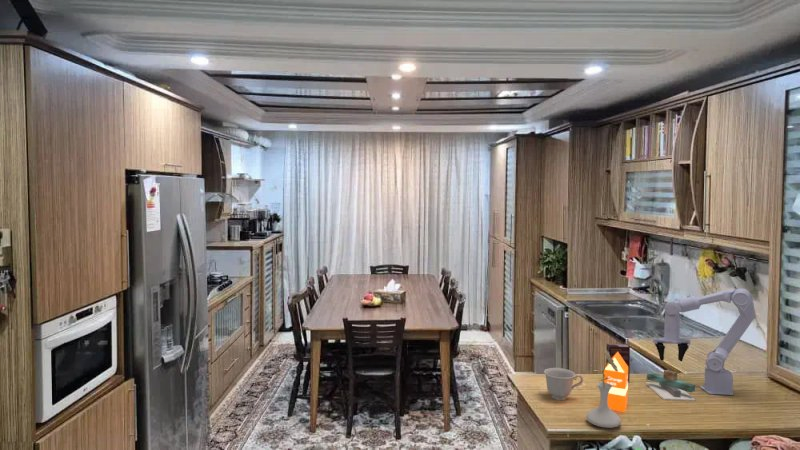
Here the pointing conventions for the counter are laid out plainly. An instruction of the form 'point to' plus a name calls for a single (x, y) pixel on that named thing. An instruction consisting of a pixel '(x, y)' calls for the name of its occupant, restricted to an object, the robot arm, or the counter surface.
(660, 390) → the ridge board
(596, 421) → the flower in vase
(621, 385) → the orange juice
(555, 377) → the teacup
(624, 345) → the supplement box
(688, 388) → the bar
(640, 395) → the counter surface
